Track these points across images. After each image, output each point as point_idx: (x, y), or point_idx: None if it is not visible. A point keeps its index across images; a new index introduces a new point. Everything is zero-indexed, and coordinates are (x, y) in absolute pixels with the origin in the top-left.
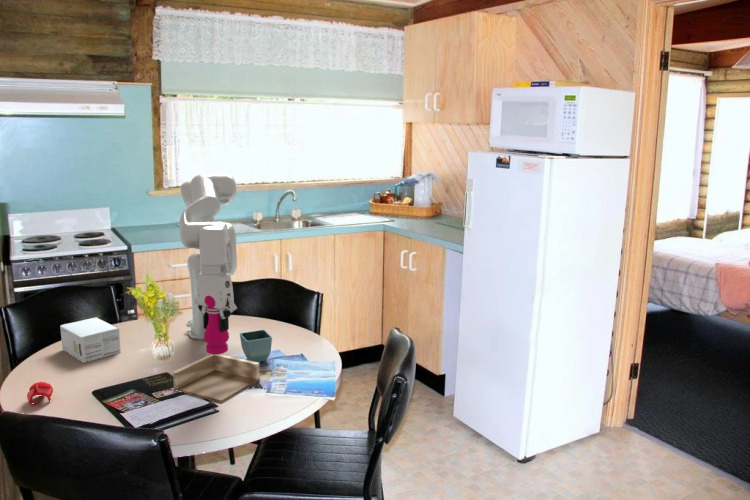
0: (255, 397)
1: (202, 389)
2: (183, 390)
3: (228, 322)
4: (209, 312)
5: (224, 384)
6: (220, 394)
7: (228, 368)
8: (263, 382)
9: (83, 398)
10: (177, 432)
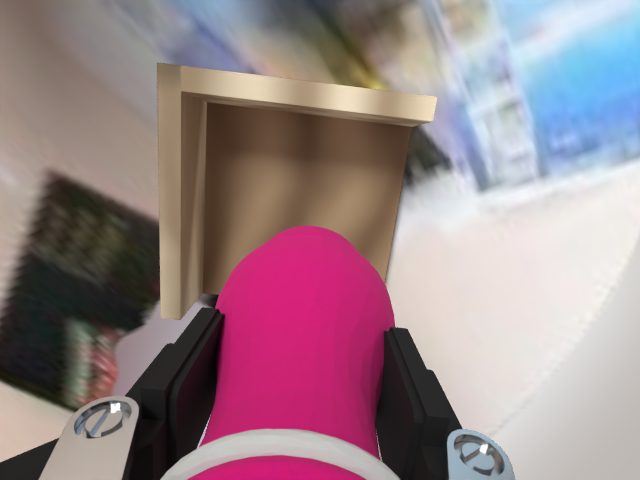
0: (459, 239)
1: None
2: None
3: (447, 400)
4: None
5: (322, 208)
6: None
7: (274, 107)
8: (434, 119)
9: (9, 409)
10: None
